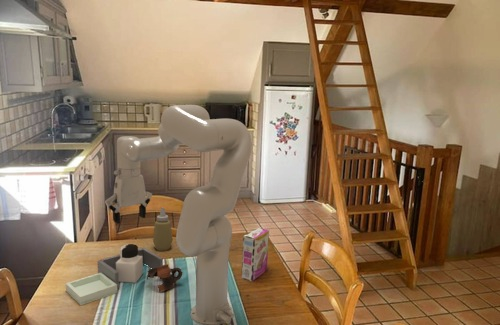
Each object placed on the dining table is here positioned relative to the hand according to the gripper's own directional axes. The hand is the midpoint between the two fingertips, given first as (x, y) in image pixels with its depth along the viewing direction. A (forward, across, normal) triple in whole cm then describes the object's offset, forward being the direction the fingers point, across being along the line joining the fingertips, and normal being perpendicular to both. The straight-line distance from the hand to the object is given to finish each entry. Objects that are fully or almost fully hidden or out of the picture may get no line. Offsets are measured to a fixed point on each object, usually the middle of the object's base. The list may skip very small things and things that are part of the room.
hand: (129, 219), depth 139 cm
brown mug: (+22, +5, -16) cm, 28 cm away
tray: (+21, -15, -2) cm, 26 cm away
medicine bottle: (+21, -1, -2) cm, 21 cm away
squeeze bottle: (+21, +22, +14) cm, 34 cm away
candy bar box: (+21, +34, -30) cm, 50 cm away
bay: (+21, 0, 0) cm, 21 cm away
